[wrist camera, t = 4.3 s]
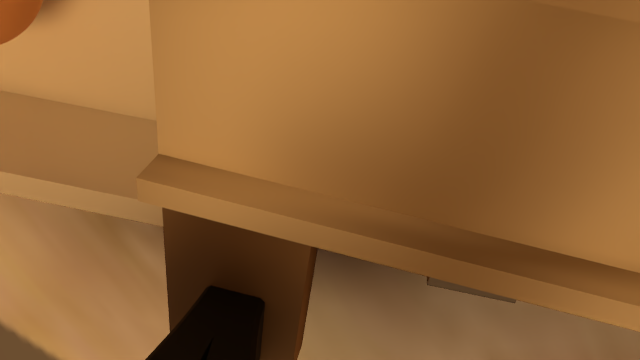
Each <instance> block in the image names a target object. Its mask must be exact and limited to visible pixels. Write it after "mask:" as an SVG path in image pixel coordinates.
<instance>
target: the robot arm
mask: <svg viewBox="0 0 640 360" xmlns="http://www.w3.org/2000/svg"><path fill="white" fill-rule="evenodd" d="M264 311H265V302H264V301H263V300H262V299H261V298H259V297H255V296H251V295H247V294H243V293H239V292H235V291H231V290H227V289H224V288H220V287H216V286H212V285H211V286H209V287H207V288H205V290H204V291H203V293H202V294H201V295H200V297H199V298H198V299H197V301H196V302H195V303H194V304H193V306H192V307H191V308H190V309H189V311H188V312H187V313H186V314H185V316H184V317H183V318H182V319H181V320H180V322H179V323H178V324H177V325H176V326H175V327H174V329H173V330H172V331H171V332H170V333H169V334H168V336H167V337H166V338H165V339H164V340H163V341H162V342H161V343H160V344H159V345H158V346H157V348H156V349H155V350H154V351H153V352H152V353H151V354H150V355H149V356H148V357H147V358H146V359H145V360H260V354H261V343H262V332H263V321H264Z"/></svg>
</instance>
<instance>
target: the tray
mask: <svg viewBox="0 0 640 360" xmlns="http://www.w3.org/2000/svg"><path fill="white" fill-rule="evenodd" d="M158 154H159V152H158V136H157V121H156V105H155V89H154V74H153V58H152V43H151V27H150V11H149V0H43V2H42V5H41V8H40V10H39V12H38V14H37V16H36V18H35V19H34V21H33V22H32V23H31V24H30V25H29V27H28V28H27V29H26V30H25V31H23V32H22V33H21V34H20V35H18V36H17V37H15V38H14V39H12V40H10V41H8V42H6V43H3V44H1V45H0V193H3V194H8V195H12V196H17V197H22V198H27V199H32V200H36V201H41V202H46V203H51V204H56V205H60V206H65V207H70V208H75V209H80V210H84V211H89V212H94V213H99V214H104V215H108V216H113V217H118V218H123V219H128V220H132V221H137V222H142V223H147V224H152V225H157V226H161V227H163V214H162V207H159V206H155V205H151V204H148V203H144V202H140V201H138V194H137V183H136V177H137V176H138V175H139V174H140V173H141V172H142V171H143V170H144V169H145V168H146V167H147V166H148V165H149V163H150V162H151V161H152V160H153V159H154V158H155V157H156V156H157V155H158Z"/></svg>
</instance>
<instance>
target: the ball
mask: <svg viewBox="0 0 640 360" xmlns="http://www.w3.org/2000/svg"><path fill="white" fill-rule="evenodd" d="M42 2H43V0H0V45H1V44H3V43H6V42H8V41H10V40H12V39H14V38H15V37H17V36H18V35H20V34H21V33H22V32H23V31H25V30H26V29H27V28H28V27H29V25H30V24H31V23H32V22H33V21H34V19H35V18H36V16H37V14H38V12H39V10H40V8H41V5H42Z"/></svg>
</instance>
